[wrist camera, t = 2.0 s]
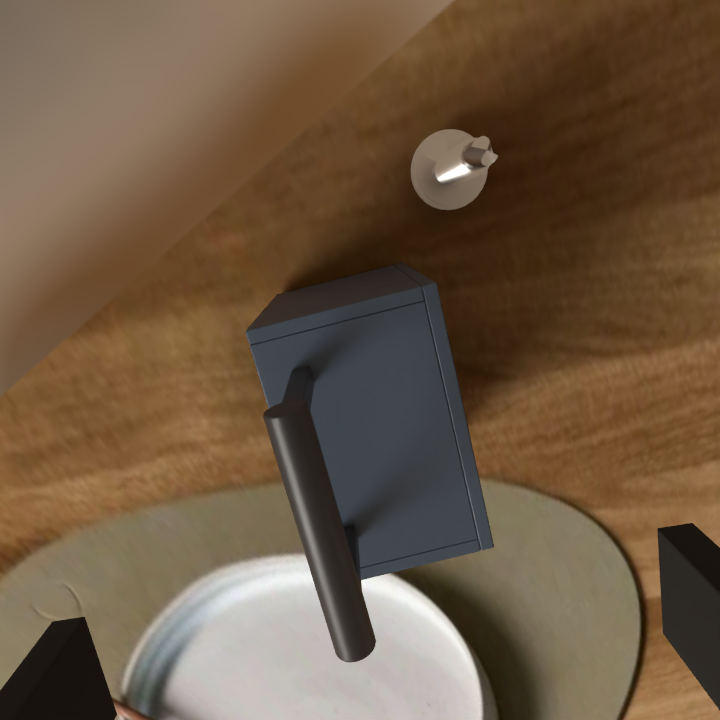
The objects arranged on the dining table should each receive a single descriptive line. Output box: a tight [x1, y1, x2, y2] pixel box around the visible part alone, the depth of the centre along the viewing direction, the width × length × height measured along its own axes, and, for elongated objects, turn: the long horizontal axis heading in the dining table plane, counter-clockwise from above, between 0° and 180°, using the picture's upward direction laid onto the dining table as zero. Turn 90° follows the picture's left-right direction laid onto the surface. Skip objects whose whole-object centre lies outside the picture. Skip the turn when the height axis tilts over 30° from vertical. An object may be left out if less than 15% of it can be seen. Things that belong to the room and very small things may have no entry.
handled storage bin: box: [246, 263, 494, 662], centre depth 31 cm, size 22×14×9 cm
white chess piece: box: [410, 129, 498, 210], centre depth 32 cm, size 13×5×5 cm
